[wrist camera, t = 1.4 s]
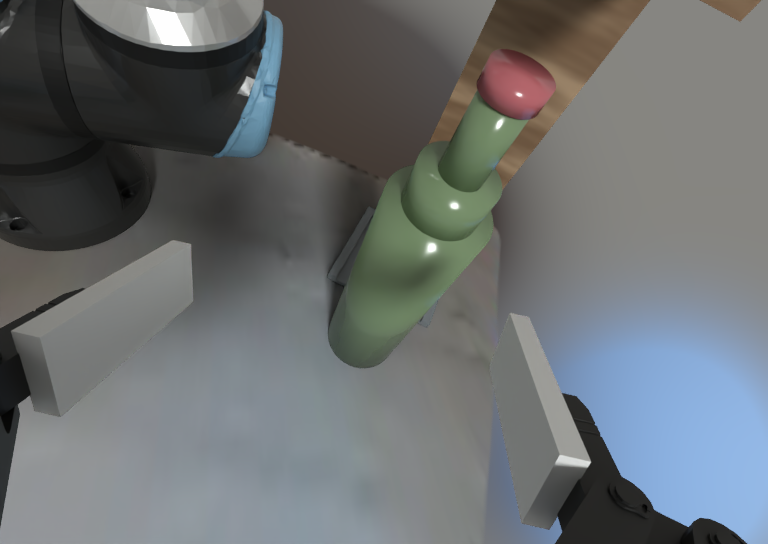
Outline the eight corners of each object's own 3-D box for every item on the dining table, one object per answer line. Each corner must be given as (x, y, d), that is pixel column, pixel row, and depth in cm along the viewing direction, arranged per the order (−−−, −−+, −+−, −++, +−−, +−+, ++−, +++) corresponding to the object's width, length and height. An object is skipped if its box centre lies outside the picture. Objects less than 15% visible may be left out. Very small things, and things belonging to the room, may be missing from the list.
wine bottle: (314, 324, 41) (409, 29, 16) (368, 294, 45) (515, 15, 19) (354, 381, 39) (535, 151, 14) (406, 345, 43) (625, 109, 18)
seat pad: (426, 327, 45) (429, 324, 44) (327, 277, 45) (328, 273, 44) (452, 254, 52) (456, 250, 51) (367, 210, 52) (368, 206, 51)
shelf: (429, 333, 45) (795, -34, 14) (321, 278, 44) (462, -214, 14) (464, 233, 54) (727, -112, 24) (376, 188, 54) (529, -219, 24)
